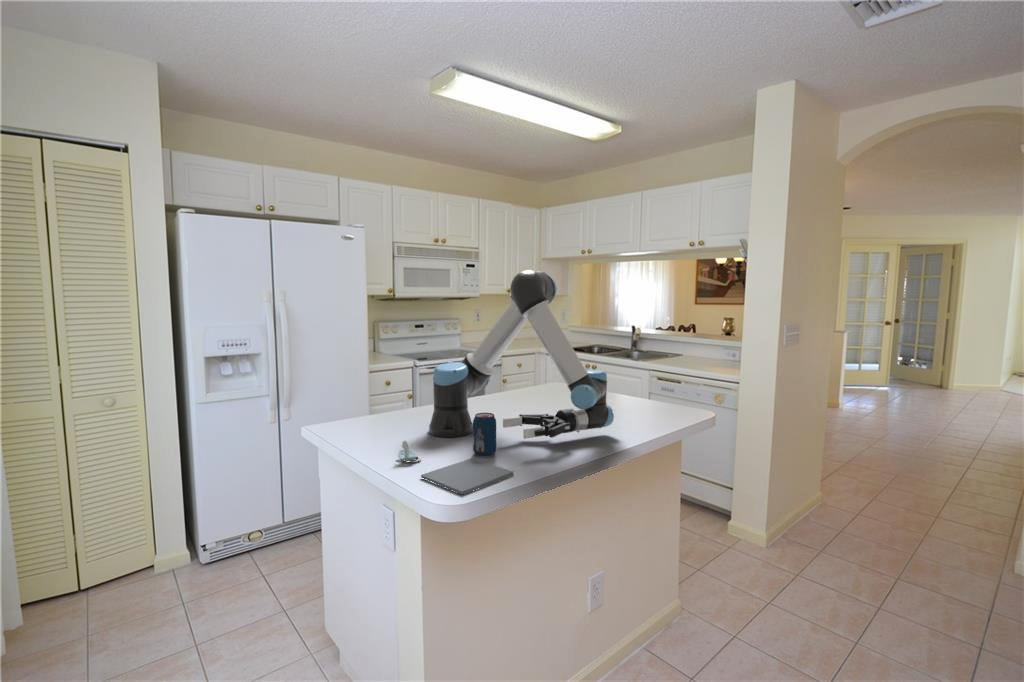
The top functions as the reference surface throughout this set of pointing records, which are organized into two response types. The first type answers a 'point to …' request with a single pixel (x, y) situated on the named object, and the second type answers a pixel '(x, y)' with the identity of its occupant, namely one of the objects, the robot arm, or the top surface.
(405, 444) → the pacifier
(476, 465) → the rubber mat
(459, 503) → the top surface
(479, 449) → the soda can
